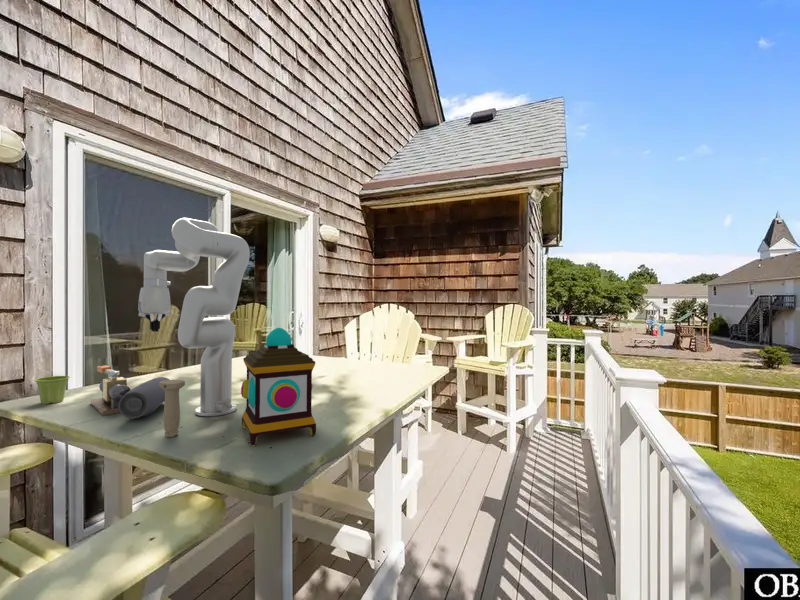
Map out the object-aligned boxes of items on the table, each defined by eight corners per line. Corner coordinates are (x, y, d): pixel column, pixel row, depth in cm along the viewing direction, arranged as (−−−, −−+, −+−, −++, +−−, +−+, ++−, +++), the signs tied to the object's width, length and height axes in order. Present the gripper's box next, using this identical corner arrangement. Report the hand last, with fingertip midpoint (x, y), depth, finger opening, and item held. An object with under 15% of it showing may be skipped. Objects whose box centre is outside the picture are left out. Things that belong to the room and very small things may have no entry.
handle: (174, 440, 103) (175, 384, 103) (154, 437, 105) (155, 382, 105) (188, 433, 108) (188, 380, 108) (168, 432, 109) (169, 379, 109)
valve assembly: (146, 407, 133) (146, 377, 133) (103, 415, 124) (103, 382, 124) (130, 397, 146) (131, 369, 146) (90, 403, 137) (91, 373, 137)
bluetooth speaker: (146, 403, 138) (146, 375, 138) (175, 402, 140) (175, 375, 140) (115, 423, 116) (115, 390, 116) (149, 421, 118) (150, 389, 118)
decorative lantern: (322, 437, 107) (323, 329, 107) (246, 450, 97) (247, 331, 97) (302, 417, 124) (303, 324, 124) (236, 427, 114) (237, 326, 114)
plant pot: (53, 398, 145) (53, 375, 145) (76, 399, 144) (76, 375, 144) (27, 404, 135) (27, 380, 135) (51, 405, 134) (51, 381, 134)
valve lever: (121, 374, 135) (121, 369, 135) (111, 376, 132) (111, 370, 132) (106, 370, 143) (106, 365, 143) (97, 371, 141) (97, 366, 141)
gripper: (173, 285, 157) (172, 329, 157) (129, 283, 146) (129, 331, 146) (179, 284, 152) (179, 330, 152) (135, 283, 141) (134, 333, 141)
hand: (154, 331), depth 149 cm, fingers closed
